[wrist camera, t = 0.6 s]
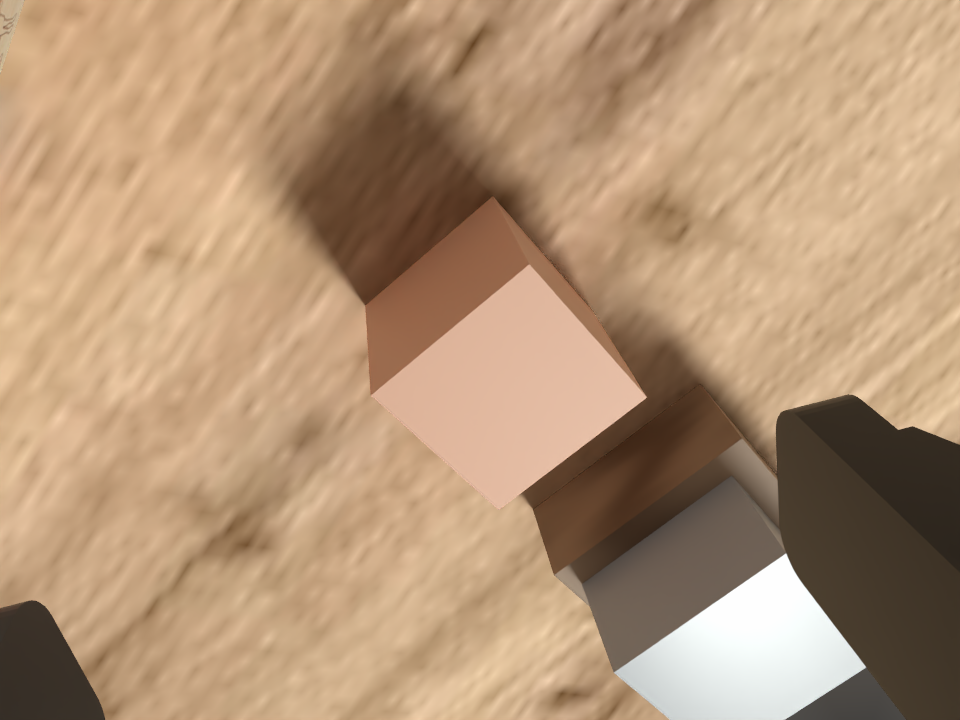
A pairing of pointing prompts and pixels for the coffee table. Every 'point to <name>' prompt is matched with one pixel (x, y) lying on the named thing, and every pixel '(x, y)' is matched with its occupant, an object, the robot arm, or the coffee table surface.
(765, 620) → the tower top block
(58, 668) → the robot arm
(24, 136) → the coffee table surface
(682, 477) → the tower base block
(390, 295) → the terracotta block
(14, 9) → the stack of blocks
